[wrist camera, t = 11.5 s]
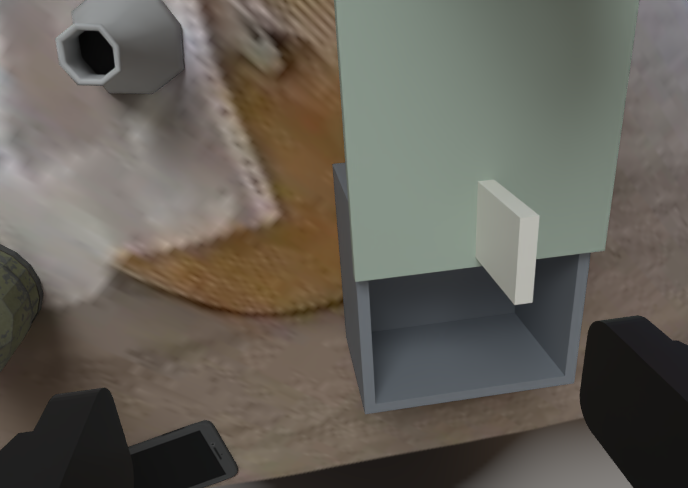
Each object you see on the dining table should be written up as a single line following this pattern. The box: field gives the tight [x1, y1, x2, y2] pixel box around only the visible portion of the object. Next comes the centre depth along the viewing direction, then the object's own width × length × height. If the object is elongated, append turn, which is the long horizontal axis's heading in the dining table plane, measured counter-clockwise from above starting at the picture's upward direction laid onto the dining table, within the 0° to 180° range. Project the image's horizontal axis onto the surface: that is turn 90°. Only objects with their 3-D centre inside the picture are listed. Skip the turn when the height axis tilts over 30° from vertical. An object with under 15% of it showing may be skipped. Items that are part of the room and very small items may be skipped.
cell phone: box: [128, 420, 238, 488], centre depth 53 cm, size 7×14×1 cm, turn 108°
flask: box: [55, 0, 184, 94], centre depth 33 cm, size 7×7×10 cm
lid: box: [334, 0, 639, 305], centre depth 30 cm, size 16×16×7 cm
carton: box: [332, 163, 591, 414], centre depth 43 cm, size 16×16×10 cm
